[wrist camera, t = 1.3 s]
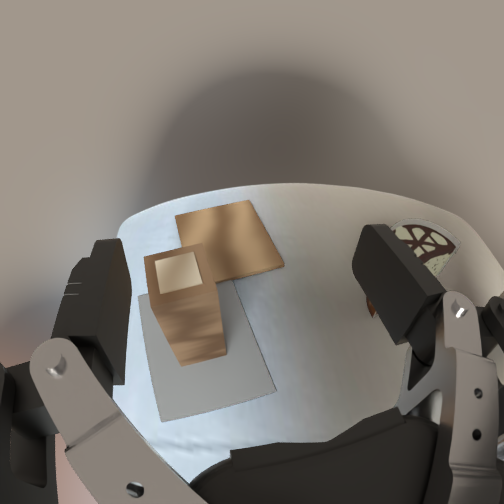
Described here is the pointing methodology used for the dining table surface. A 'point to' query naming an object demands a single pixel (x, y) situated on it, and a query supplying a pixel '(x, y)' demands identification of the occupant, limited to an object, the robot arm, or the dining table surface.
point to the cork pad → (230, 240)
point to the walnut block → (186, 303)
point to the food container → (425, 245)
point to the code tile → (206, 364)
